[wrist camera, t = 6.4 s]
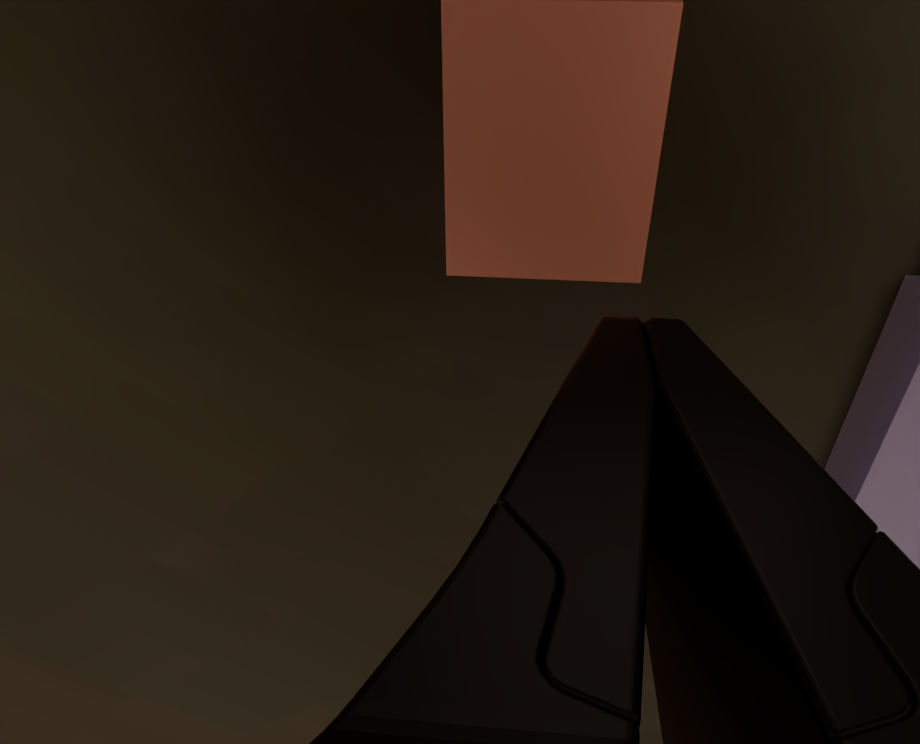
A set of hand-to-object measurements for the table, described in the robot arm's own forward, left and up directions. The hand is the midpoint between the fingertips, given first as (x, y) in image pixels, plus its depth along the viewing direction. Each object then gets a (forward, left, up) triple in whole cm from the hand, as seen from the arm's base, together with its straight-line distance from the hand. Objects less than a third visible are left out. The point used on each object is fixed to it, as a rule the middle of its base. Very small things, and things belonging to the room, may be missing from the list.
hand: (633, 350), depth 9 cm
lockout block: (-1, -1, -12) cm, 12 cm away
